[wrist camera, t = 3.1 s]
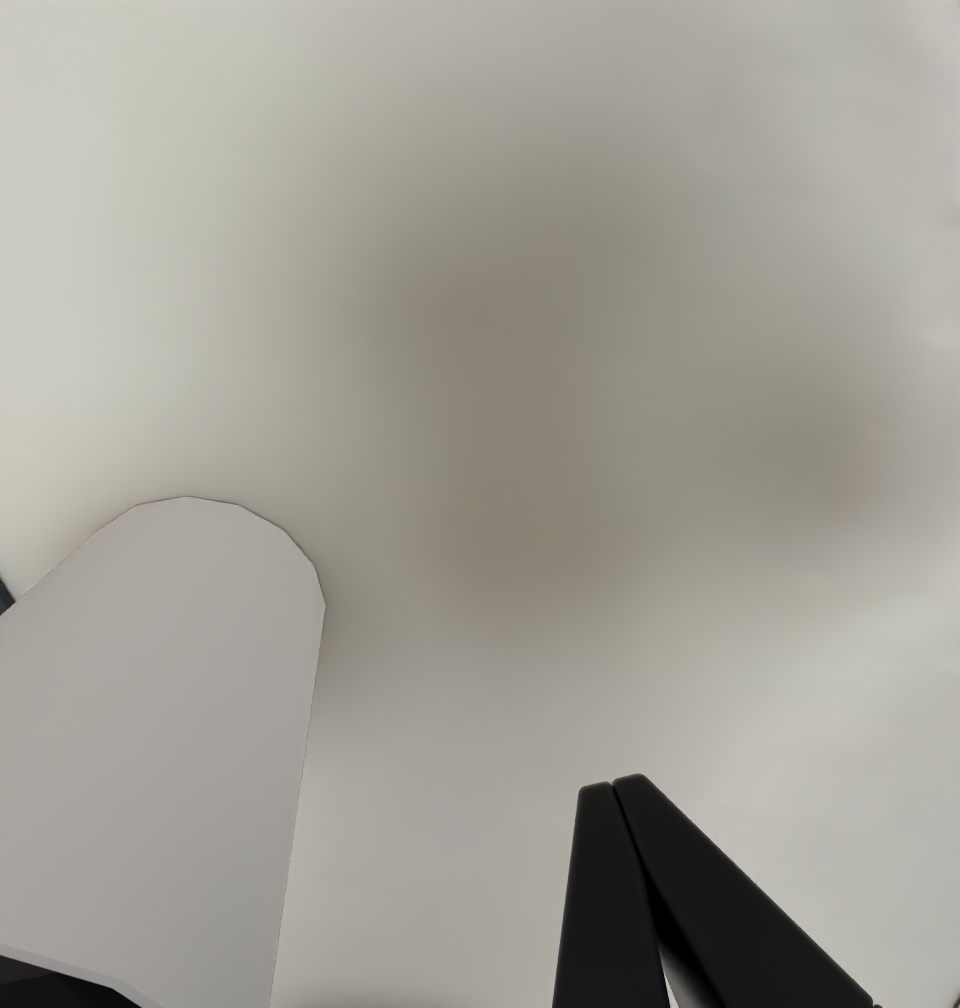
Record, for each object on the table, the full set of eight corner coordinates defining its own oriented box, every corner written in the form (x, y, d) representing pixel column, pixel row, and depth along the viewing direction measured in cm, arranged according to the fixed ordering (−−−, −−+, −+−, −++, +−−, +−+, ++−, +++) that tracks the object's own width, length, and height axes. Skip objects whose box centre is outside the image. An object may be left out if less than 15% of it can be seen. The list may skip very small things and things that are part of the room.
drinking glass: (401, 604, 16) (383, 1098, 7) (225, 757, 18) (27, 1329, 9) (175, 416, 14) (-267, 802, 5) (-7, 609, 15) (-609, 1183, 6)
